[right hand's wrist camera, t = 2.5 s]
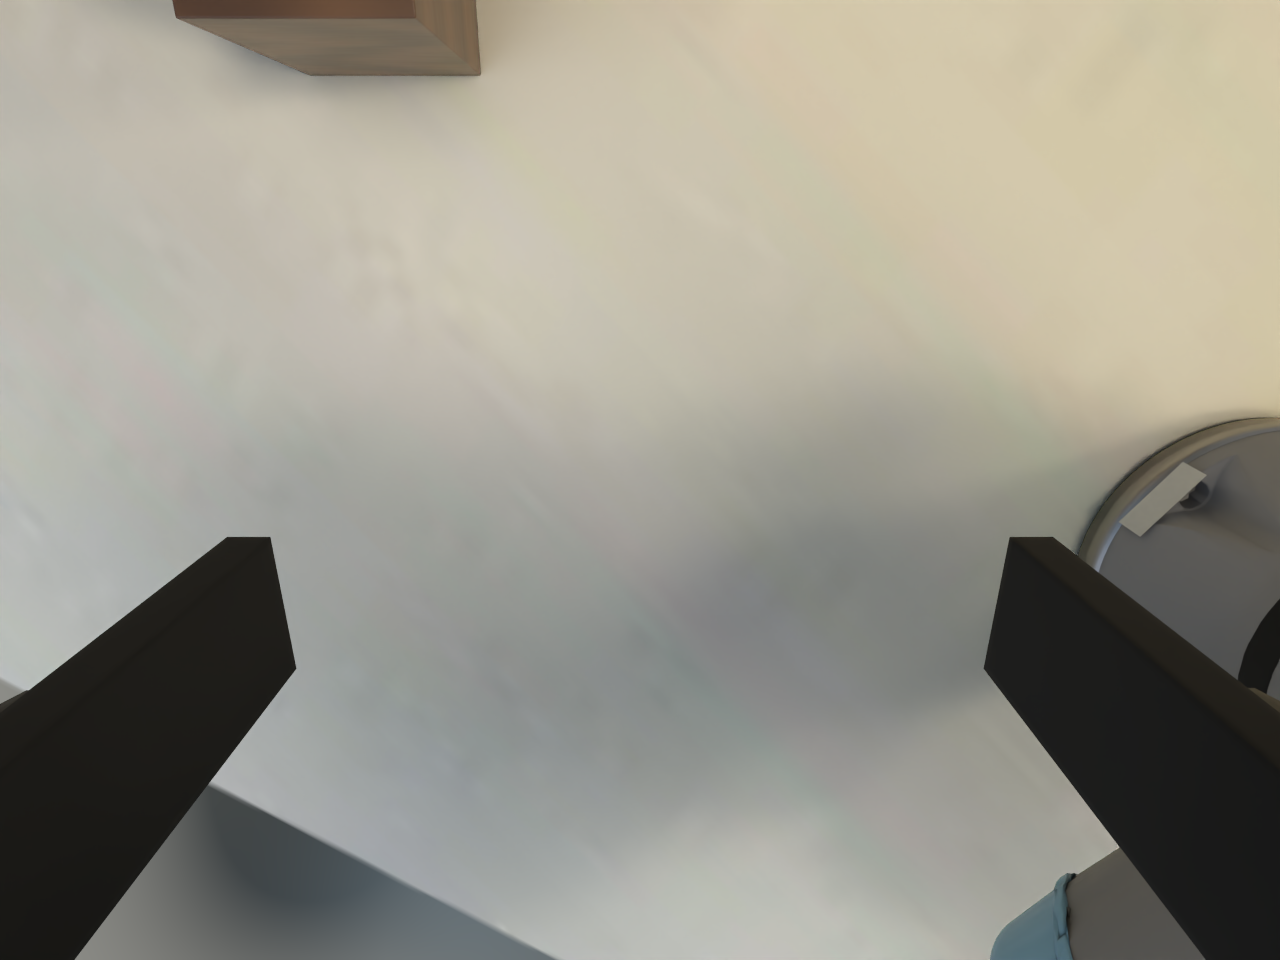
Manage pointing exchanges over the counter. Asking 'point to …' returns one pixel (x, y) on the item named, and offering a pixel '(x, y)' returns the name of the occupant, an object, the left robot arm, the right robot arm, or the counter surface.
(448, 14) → the walnut stand
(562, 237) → the counter surface
